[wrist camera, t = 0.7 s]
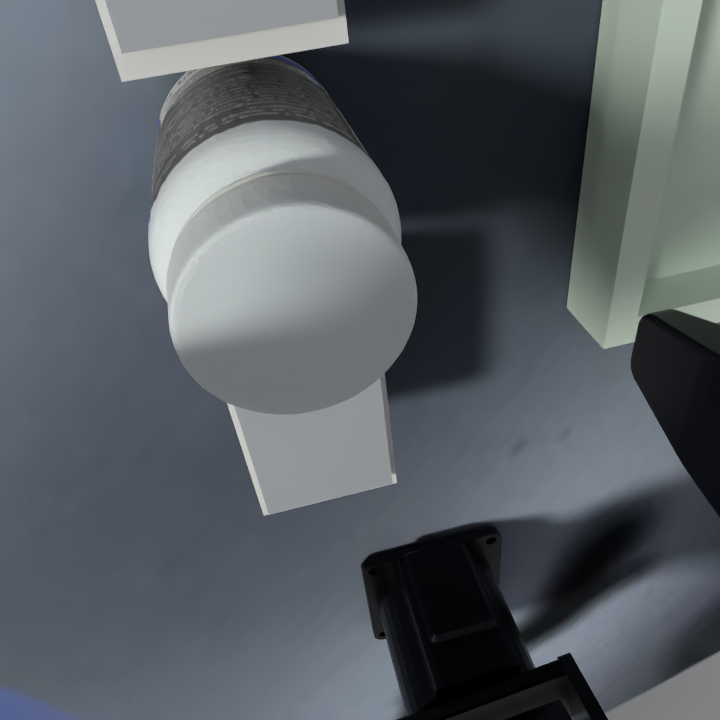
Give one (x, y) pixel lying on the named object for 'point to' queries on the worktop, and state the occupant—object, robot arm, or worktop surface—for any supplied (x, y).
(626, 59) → the tray
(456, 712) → the robot arm
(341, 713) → the worktop surface
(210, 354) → the pill bottle
